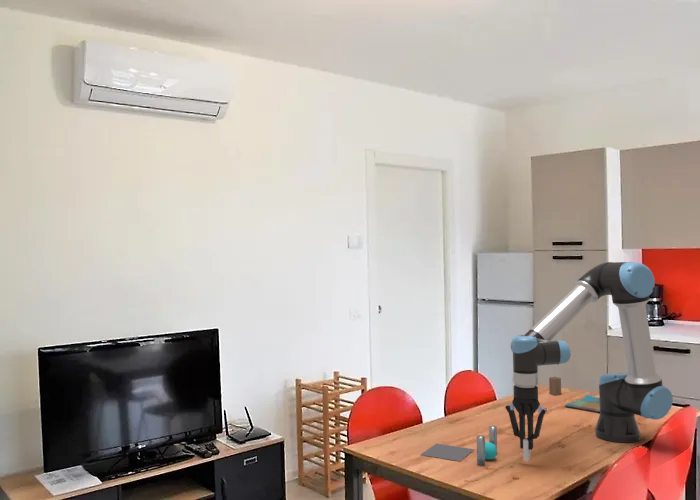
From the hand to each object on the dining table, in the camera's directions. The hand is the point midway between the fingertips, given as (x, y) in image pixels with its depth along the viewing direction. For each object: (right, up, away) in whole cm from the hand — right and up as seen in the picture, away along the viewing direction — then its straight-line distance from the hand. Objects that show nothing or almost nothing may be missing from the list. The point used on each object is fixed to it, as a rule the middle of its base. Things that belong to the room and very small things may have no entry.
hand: (526, 459), depth 196 cm
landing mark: (-23, -2, +14) cm, 27 cm away
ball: (-11, +1, +6) cm, 13 cm away
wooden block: (+42, -3, +98) cm, 107 cm away
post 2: (-8, -2, +12) cm, 15 cm away
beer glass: (+18, -3, +72) cm, 74 cm away
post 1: (-14, -2, +1) cm, 15 cm away
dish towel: (+52, -3, +75) cm, 91 cm away
